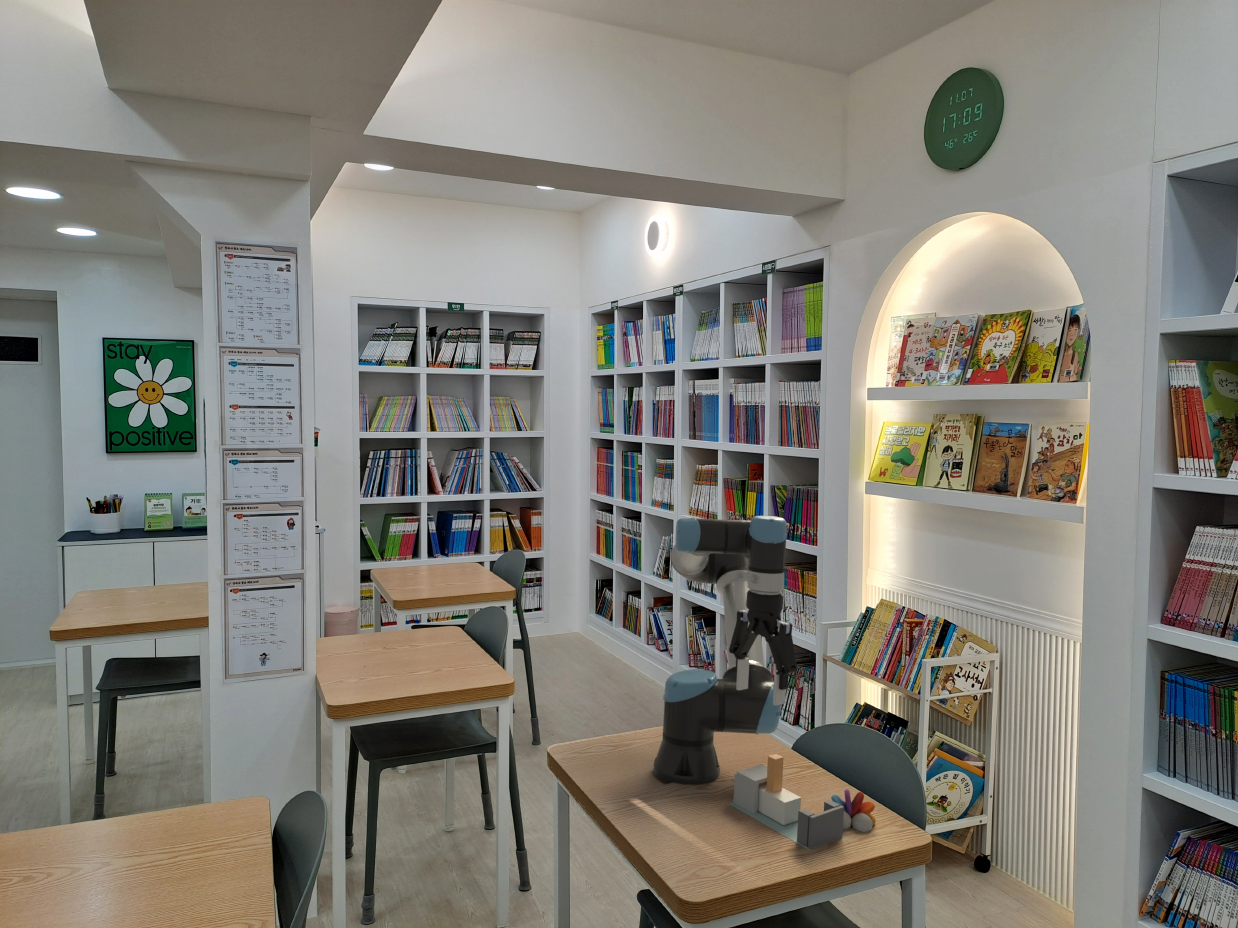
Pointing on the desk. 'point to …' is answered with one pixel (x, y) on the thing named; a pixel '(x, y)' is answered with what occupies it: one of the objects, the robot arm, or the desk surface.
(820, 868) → the desk surface
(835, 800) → the rainbow disc toy
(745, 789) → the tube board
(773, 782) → the block with wooden peg
